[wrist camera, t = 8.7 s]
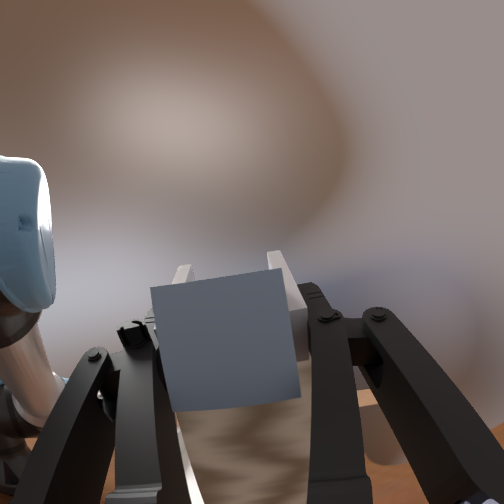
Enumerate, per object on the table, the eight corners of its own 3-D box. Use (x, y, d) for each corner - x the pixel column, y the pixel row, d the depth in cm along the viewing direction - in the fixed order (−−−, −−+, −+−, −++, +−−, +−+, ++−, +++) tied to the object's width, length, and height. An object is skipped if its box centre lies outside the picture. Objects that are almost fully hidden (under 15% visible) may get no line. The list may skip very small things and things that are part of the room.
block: (172, 411, 7) (150, 287, 8) (233, 330, 33) (228, 298, 34) (301, 396, 8) (281, 267, 8) (265, 325, 33) (260, 293, 34)
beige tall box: (241, 583, 12) (164, 360, 17) (244, 515, 27) (203, 335, 32) (340, 569, 12) (328, 336, 17) (318, 505, 27) (295, 321, 32)
